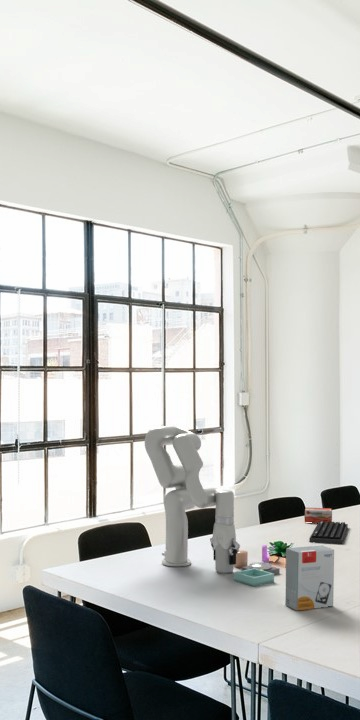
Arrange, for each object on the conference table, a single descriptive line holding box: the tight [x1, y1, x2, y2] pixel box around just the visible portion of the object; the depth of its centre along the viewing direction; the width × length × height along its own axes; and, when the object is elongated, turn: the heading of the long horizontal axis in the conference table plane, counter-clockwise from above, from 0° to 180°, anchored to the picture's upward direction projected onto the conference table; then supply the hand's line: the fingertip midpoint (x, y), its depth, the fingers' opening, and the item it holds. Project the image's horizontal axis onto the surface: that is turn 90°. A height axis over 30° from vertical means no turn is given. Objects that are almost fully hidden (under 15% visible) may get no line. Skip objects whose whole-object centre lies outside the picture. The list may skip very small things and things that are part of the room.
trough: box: [233, 568, 275, 587], centre depth 283 cm, size 11×11×3 cm
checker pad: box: [249, 561, 273, 570], centre depth 296 cm, size 9×9×1 cm
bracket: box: [261, 544, 274, 563], centre depth 322 cm, size 13×6×7 cm, turn 161°
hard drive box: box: [284, 545, 335, 611], centre depth 251 cm, size 16×8×20 cm, turn 114°
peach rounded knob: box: [234, 549, 249, 569], centre depth 307 cm, size 6×6×6 cm
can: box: [214, 543, 235, 575], centre depth 298 cm, size 8×8×12 cm
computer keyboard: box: [308, 521, 349, 545], centre depth 377 cm, size 45×16×4 cm, turn 163°
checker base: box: [241, 565, 280, 576], centre depth 296 cm, size 11×11×3 cm
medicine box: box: [304, 507, 333, 523], centre depth 411 cm, size 15×8×8 cm, turn 76°
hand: (224, 562), depth 297 cm, fingers open, 9 cm apart
